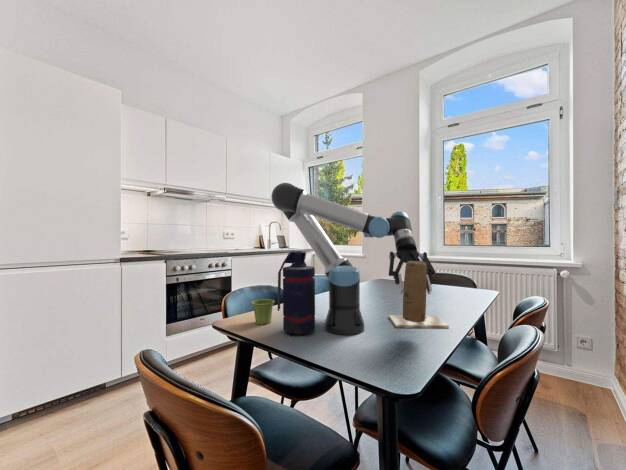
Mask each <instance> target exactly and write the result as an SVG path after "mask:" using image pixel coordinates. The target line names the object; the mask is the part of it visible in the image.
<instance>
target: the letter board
mask: <svg viewBox="0 0 626 470" xmlns="http://www.w3.org/2000/svg"><path fill="white" fill-rule="evenodd" d="M388 318H389V319H390V321H391V323H392V324H393V325H394V327H395V328H404V329H405V328H406V329H410V328H411V329H414V328H415V329H449V328H450V325H449V324H448V323H446V321H444V320H442V319H441V318H440V317H439V316H437V315H432V314H431V315H430V314H429V315H426V316H425V321H424V322H411V321H407V320H405V319H404V318H403V314H401V315H399V314H389V315H388Z"/></svg>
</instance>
